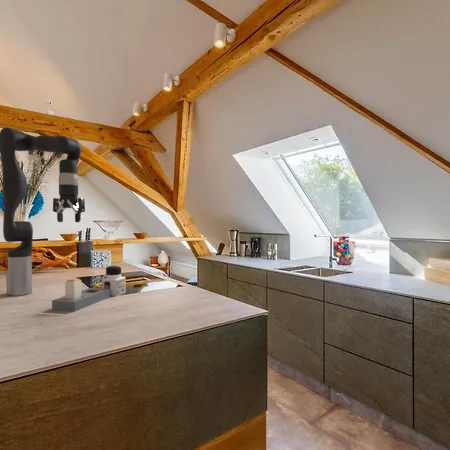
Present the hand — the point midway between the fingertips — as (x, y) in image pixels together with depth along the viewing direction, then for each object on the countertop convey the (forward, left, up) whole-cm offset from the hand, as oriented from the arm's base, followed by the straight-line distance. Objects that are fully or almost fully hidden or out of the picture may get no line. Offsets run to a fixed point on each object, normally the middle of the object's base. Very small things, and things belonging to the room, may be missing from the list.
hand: (68, 222), depth 138 cm
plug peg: (+12, -13, -33) cm, 37 cm away
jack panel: (+12, -7, -33) cm, 36 cm away
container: (+15, +10, -33) cm, 38 cm away
